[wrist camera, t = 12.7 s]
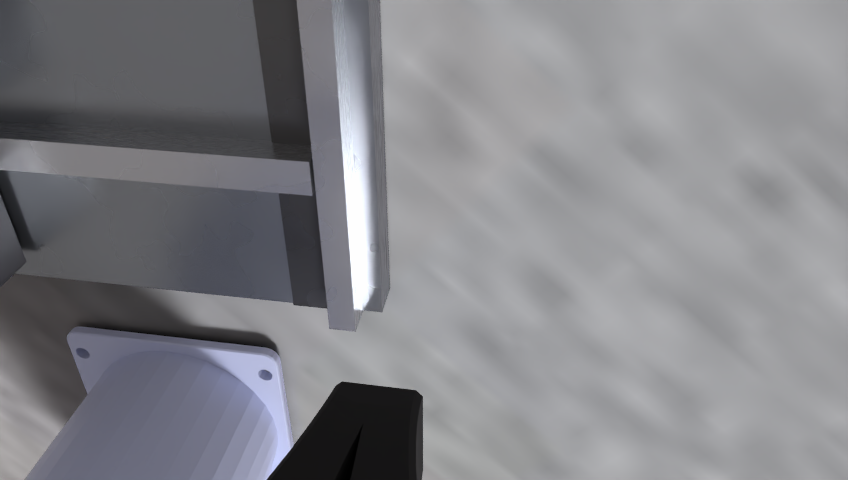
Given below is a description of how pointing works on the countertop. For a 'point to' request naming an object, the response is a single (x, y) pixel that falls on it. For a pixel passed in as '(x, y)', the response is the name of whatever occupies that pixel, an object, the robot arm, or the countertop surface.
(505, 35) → the countertop surface
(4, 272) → the block
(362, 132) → the panel
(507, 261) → the countertop surface
